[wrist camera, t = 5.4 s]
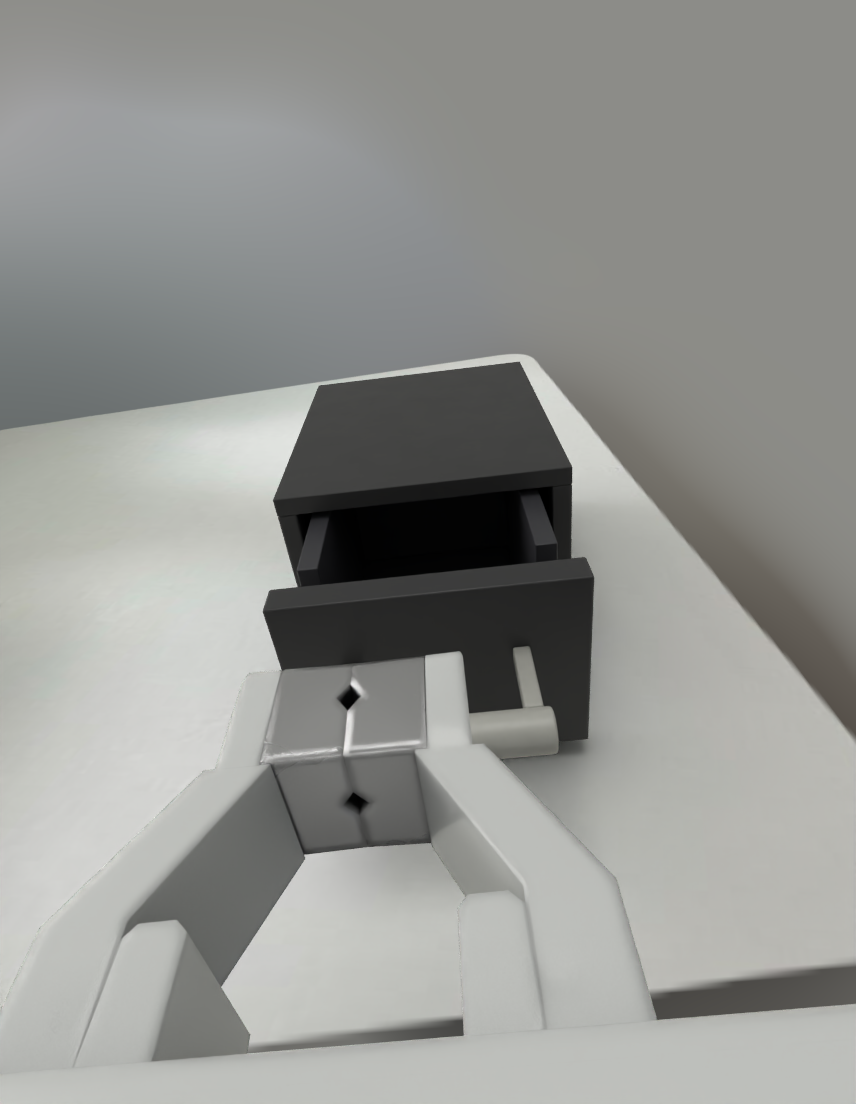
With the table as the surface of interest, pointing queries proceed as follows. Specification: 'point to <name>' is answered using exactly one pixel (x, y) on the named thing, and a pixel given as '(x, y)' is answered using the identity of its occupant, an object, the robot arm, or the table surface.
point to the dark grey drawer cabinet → (424, 447)
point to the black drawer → (451, 608)
